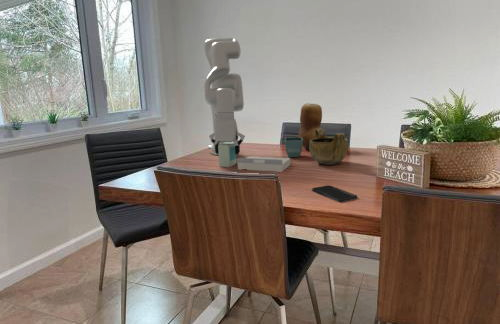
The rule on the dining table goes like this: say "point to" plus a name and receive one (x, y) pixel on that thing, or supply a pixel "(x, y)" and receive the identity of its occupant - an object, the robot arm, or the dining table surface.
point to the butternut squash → (309, 122)
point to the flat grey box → (263, 163)
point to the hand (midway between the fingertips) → (227, 153)
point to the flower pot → (293, 146)
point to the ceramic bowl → (328, 148)
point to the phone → (334, 193)
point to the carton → (227, 154)
